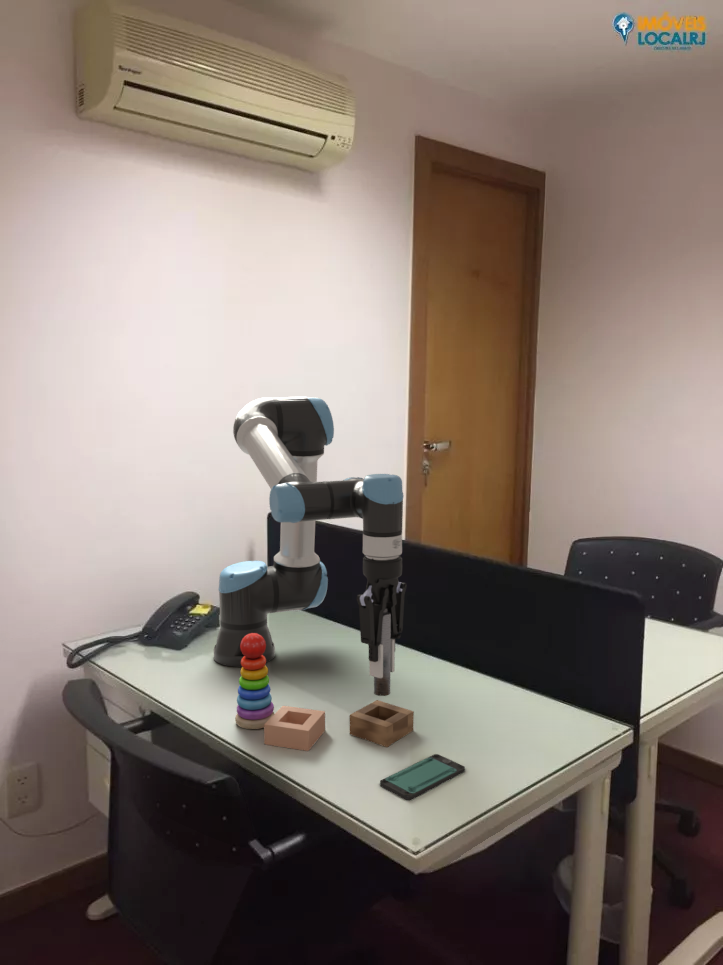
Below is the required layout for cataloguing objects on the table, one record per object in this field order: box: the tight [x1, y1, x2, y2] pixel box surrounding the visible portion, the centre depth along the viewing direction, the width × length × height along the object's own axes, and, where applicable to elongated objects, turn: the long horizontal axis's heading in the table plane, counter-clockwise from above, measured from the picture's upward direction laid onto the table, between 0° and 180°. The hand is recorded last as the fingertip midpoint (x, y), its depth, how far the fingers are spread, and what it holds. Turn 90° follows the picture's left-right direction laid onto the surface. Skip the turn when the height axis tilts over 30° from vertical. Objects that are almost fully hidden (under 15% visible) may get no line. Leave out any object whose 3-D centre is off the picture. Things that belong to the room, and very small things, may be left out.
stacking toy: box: [234, 633, 275, 730], centre depth 159 cm, size 8×8×19 cm
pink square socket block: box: [263, 705, 326, 752], centre depth 153 cm, size 9×9×4 cm
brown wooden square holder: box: [349, 699, 415, 748], centre depth 155 cm, size 9×9×4 cm
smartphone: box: [379, 753, 466, 801], centre depth 138 cm, size 7×1×15 cm
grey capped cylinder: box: [373, 607, 391, 697], centre depth 153 cm, size 3×3×17 cm
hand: (382, 673), depth 154 cm, fingers closed on grey capped cylinder, 3 cm apart
